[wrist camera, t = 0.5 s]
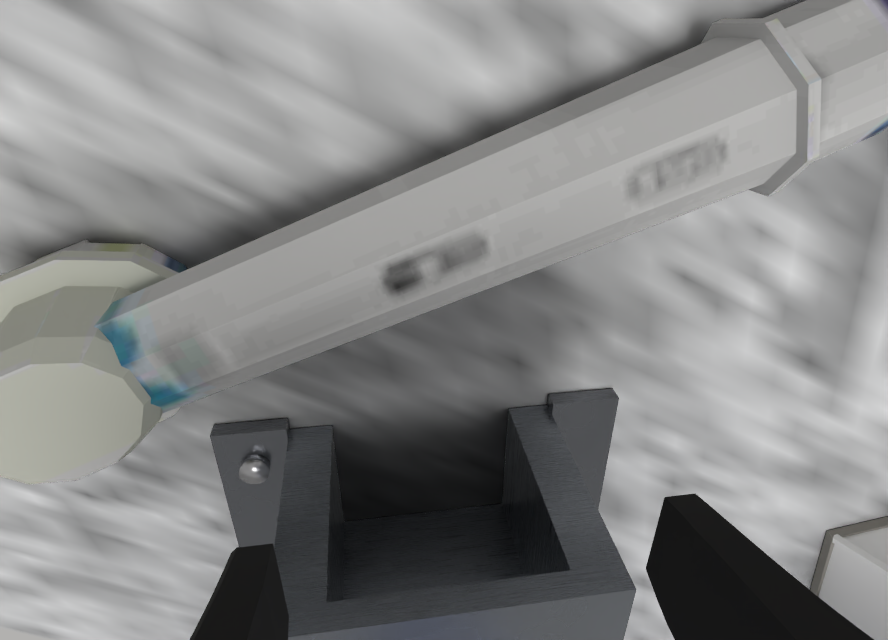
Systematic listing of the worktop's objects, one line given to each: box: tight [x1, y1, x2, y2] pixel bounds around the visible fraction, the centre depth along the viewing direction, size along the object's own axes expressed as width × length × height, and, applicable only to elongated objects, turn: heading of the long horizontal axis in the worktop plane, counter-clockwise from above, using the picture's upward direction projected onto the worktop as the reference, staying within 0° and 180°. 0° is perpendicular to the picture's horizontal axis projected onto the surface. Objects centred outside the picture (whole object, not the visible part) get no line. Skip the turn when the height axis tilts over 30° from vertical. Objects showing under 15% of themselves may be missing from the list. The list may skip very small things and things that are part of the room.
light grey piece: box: [0, 0, 888, 484], centre depth 15 cm, size 5×7×25 cm
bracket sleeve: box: [210, 388, 636, 640], centre depth 19 cm, size 6×14×8 cm, turn 90°
